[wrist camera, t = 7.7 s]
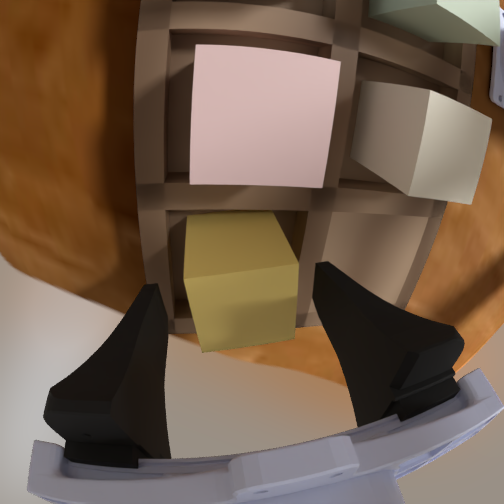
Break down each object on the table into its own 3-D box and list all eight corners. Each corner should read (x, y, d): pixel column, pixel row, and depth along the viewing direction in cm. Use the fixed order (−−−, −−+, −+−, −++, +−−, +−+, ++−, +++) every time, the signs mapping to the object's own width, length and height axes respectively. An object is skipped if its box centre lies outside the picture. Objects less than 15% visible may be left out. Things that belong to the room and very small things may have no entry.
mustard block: (269, 205, 15) (298, 263, 10) (270, 271, 17) (294, 338, 13) (187, 215, 14) (183, 278, 10) (198, 281, 16) (202, 352, 12)
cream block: (423, 99, 12) (492, 119, 8) (410, 166, 15) (471, 204, 10) (361, 80, 12) (430, 89, 8) (349, 157, 14) (408, 196, 10)
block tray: (449, -25, 8) (474, -29, 6) (387, 294, 21) (402, 314, 19) (171, -97, 5) (168, -119, 4) (158, 306, 18) (155, 333, 16)
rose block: (291, 66, 11) (341, 61, 7) (282, 150, 13) (321, 188, 9) (197, 59, 10) (195, 44, 6) (193, 147, 12) (189, 184, 8)
